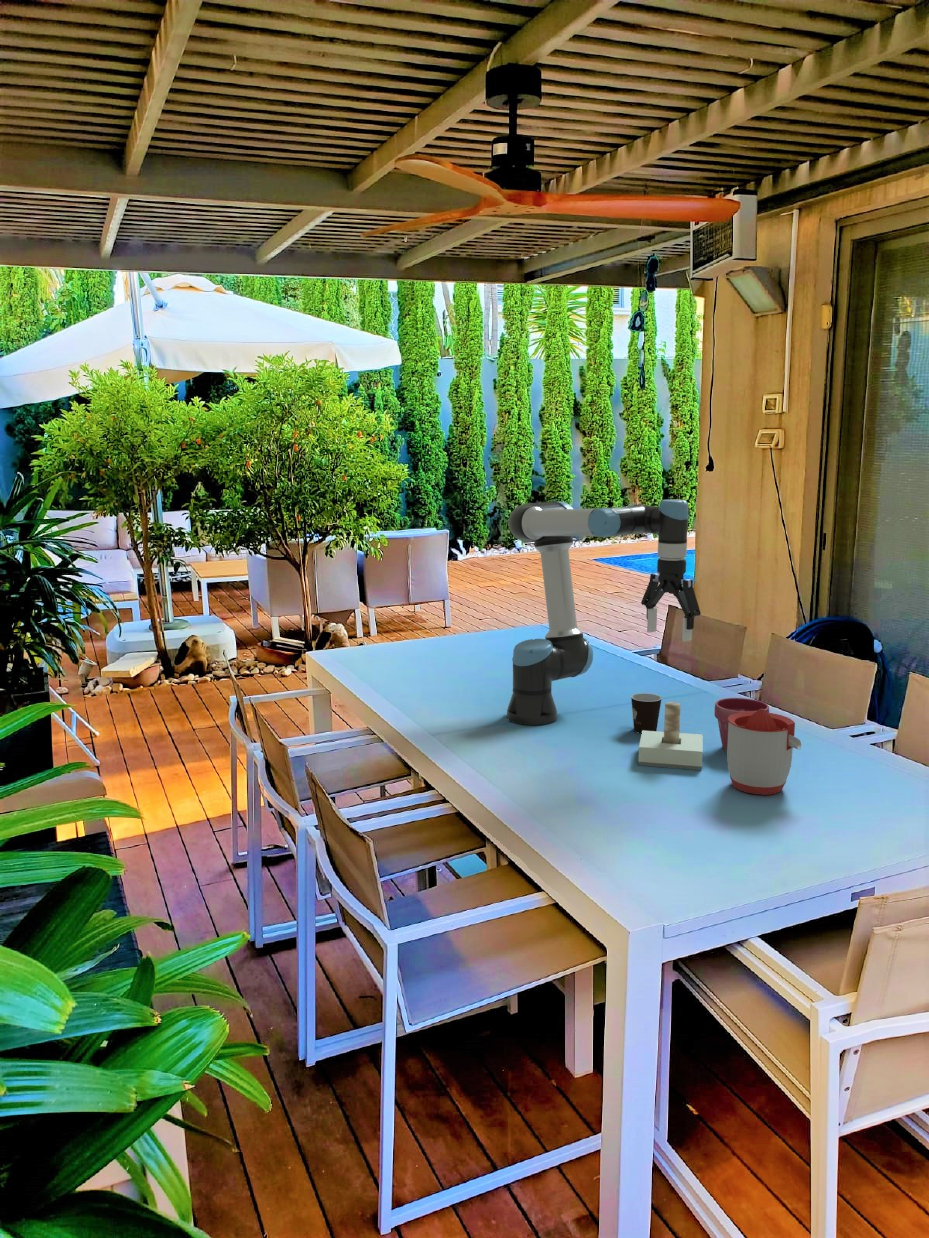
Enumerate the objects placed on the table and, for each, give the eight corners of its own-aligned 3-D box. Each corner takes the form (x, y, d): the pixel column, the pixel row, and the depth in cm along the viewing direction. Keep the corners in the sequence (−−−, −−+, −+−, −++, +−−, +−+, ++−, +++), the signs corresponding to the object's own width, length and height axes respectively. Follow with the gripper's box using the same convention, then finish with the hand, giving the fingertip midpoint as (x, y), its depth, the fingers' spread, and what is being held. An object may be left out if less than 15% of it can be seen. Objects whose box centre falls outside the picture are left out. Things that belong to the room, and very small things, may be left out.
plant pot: (730, 737, 268) (732, 693, 266) (776, 749, 258) (779, 703, 256) (702, 749, 258) (704, 704, 256) (749, 761, 249) (752, 715, 246)
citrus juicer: (789, 805, 220) (795, 723, 216) (715, 791, 229) (719, 711, 225) (805, 784, 233) (810, 706, 229) (734, 771, 242) (738, 695, 238)
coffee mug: (660, 736, 270) (661, 702, 268) (629, 734, 271) (630, 700, 269) (660, 723, 281) (661, 691, 279) (630, 722, 282) (632, 689, 280)
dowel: (662, 756, 250) (664, 705, 247) (663, 751, 253) (665, 701, 251) (678, 758, 249) (680, 706, 246) (678, 753, 253) (680, 702, 250)
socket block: (638, 765, 246) (638, 746, 245) (641, 747, 260) (642, 730, 259) (701, 770, 243) (702, 751, 242) (701, 752, 256) (702, 734, 255)
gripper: (716, 562, 243) (712, 643, 247) (650, 552, 264) (648, 626, 268) (695, 565, 239) (691, 646, 244) (629, 554, 260) (627, 629, 265)
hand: (668, 636), depth 256 cm, fingers open, 13 cm apart
